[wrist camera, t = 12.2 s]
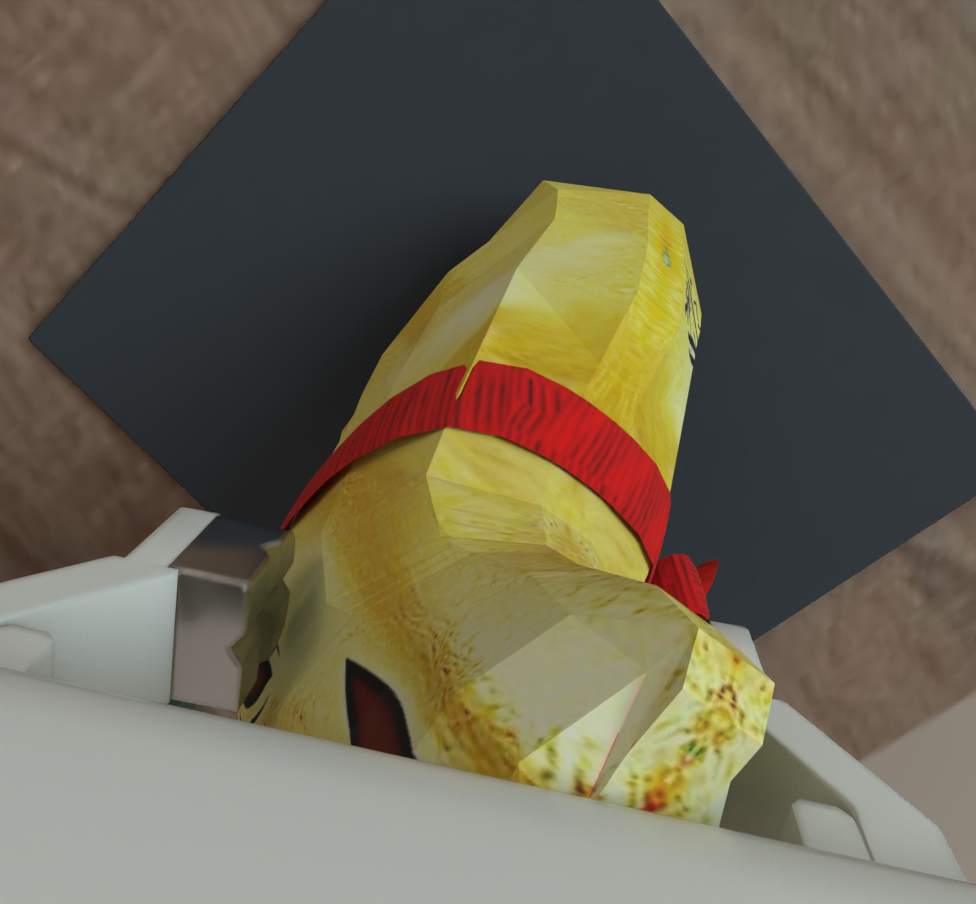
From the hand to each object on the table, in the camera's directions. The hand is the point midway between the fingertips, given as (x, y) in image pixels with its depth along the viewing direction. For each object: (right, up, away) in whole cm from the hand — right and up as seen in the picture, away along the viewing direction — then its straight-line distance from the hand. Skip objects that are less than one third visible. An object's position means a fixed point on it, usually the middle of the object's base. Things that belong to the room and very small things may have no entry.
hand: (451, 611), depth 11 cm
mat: (+1, +3, +10) cm, 10 cm away
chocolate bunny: (+1, +3, +9) cm, 9 cm away
